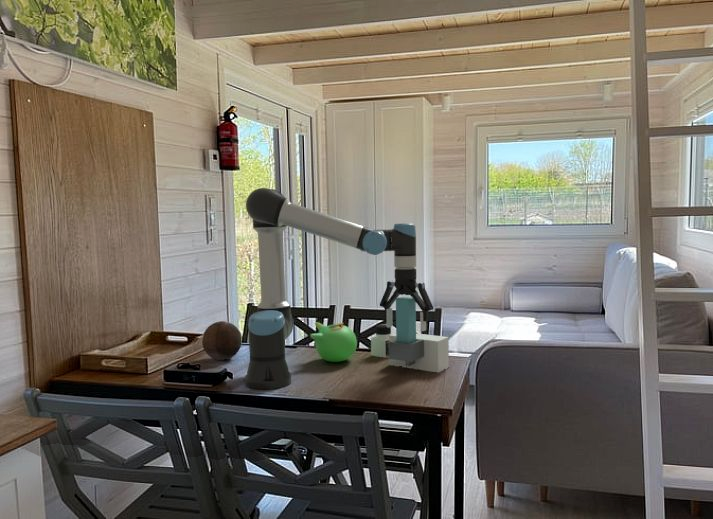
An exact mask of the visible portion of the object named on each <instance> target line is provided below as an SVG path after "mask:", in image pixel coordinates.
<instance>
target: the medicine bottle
mask: <svg viewBox="0 0 713 519" xmlns="http://www.w3.org/2000/svg"><path fill="white" fill-rule="evenodd" d="M374 328H375V329H374V330H375V336H374V337H371V338H370V349H371V350H370V351H371V352H370V354H371V356H372V357H377V358H382V357H383V358H384V359H387V358H389V335H392V327H389V328H388V327H387V323H385V324H381V323H380V324H377V325H376V326H375V327H374Z"/></svg>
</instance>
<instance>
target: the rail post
mask: <svg viewBox="0 0 713 519" xmlns="http://www.w3.org/2000/svg"><path fill="white" fill-rule="evenodd" d="M416 305H417V303H416V302H415V300H414V299H413V297H411V296H401V297H397V298H396V300H395V327H396V331H395V333H396V342H402V343H413V342H415V341H416V333H417V310H416V308H417V306H416Z"/></svg>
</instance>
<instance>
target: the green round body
mask: <svg viewBox="0 0 713 519" xmlns="http://www.w3.org/2000/svg"><path fill="white" fill-rule="evenodd" d="M314 324H315V327H316V328H317V330H318V332H317V333H310V335H309V337H310V338H311V339H312V340H314V341H315V342H314V344H315V349H316V352H317V354H318V355H319V356H320V357H321V358H322V359H323V360H325V361H327V362H329V363H330V362H331V363H339V362H344V361H347V360H348V359H350V358H351V357H352V356H353V355H354V354H355V353H356V350H357V345H358V340H357V336H356V334H355V332H354V331H353V330H352V329H351V328H350V327H348V326H346V325H344V322H339V323H336V324H335V323H332V324H329V325H324V324H323V323H320V322H319V321H317V322H315V323H314Z"/></svg>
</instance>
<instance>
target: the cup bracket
mask: <svg viewBox="0 0 713 519" xmlns="http://www.w3.org/2000/svg"><path fill="white" fill-rule="evenodd" d="M422 357H424V340H423V339H416V341H415V342H413V343H402V342H396V339H395V340H392V341H389V357H388V360H389V359H394V360H401V361H405V364H406V366H411V365H413V364H415V360H417V359H420V358H422Z"/></svg>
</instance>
